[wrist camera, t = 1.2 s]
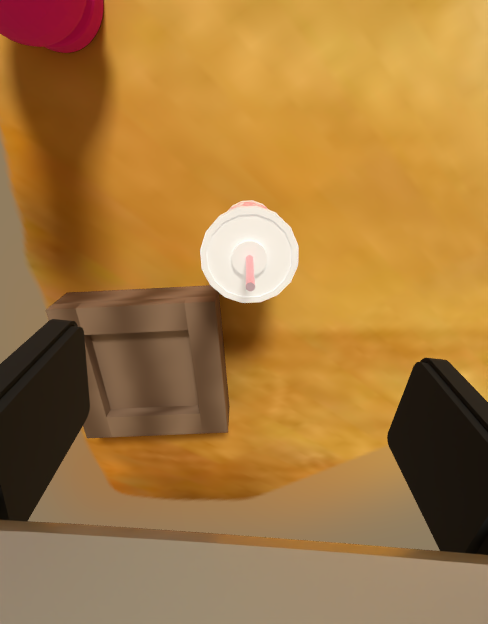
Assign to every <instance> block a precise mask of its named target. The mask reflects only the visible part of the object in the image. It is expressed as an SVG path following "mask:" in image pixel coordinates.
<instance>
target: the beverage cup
mask: <svg viewBox="0 0 488 624" xmlns="http://www.w3.org/2000/svg"><path fill="white" fill-rule="evenodd" d="M200 256H201V265H202V270H203V272H204V274H205V276H206V278H207V280H208V281H209V283H210V285H211V286H212V287H213V288H214V289H215V290H217V291H218V292H219V293H220V294H222V295H223V296H224V297H226V298H229V299H232V300H235V301H238V302H241V303H254V302H262V301H265V300H267V299H269V298H272V297H274V296H276V295H278V294H279V293H280V292H281V291H282V290H283V289H284V288H285V287H286V286H287V285H288V284H289V283H290V282H291V280H292V278H293V276H294V273H295V271H296V269H297V266H298V244H297V241H296V239H295V237H294V234H293V232H292V229H291V227H290V226H289V225H288V224H287V223H286V222H285V221H284V220H283V219H282V218H281V217H279V216H278V215H277V214H276V213H275V212H273V211H270V210H268V209H267V208H266V207H265V206H264V205H263V204H261V203H258V202H256V201H253V200H252V201H241V202H239V203H237V204H235V205H233V206H231V208H230V209H229V210H228V211H227V212H226V213H224V214H221V215H220V216H219V217H218V218H217V219H216V220H215V222H214V223H213V224H212V225H211V226H210V227H209V229H208V230H207V231H206V233H205V236H204V239H203V243H202V246H201V249H200Z"/></svg>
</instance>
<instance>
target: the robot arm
mask: <svg viewBox="0 0 488 624" xmlns="http://www.w3.org/2000/svg"><path fill="white" fill-rule="evenodd" d="M89 410H90V399H89V387H88V375H87V362H86V350H85V338H84V330H83V328H82V327H78V325H77V323H76V322H75V321H69V320H59V319H51V320H50V321H48V322H47V323H46V324H45V325H44V326H43V327H42V328H41V329H39V330H38V331H37V332H36V333H35V334H34V335H33V336H32V337H31V338H29V339H28V340H27V341H26V342H25V343H24V344H22V345H21V346H20V347H19V348H18V349H17V350H16V351H15V352H13V353H12V354H11V355H10V356H9V357H8V358H7V359H6V360H4V361H3V362H2V363H1V364H0V624H488V402H487V401H486V400H485V399H484V398H483V397H482V396H481V395H480V394H479V393H478V392H477V391H476V390H475V389H474V387H473V386H472V385H471V384H470V383H469V382H468V381H467V380H466V379H465V378H464V377H463V376H462V375H461V374H460V373H459V372H458V371H457V370H456V369H455V368H454V367H453V366H452V365H451V364H450V363H449V362H448V361H447V360H442V359H432V358H424V359H422V360H421V361H420V362H417V363H416V364H415V365H414V367H413V370H412V372H411V375H410V377H409V380H408V383H407V385H406V388H405V390H404V393H403V395H402V398H401V401H400V403H399V406H398V408H397V411H396V414H395V416H394V419H393V421H392V424H391V427H390V429H389V432H388V437H387V438H388V445H389V447H390V449H391V451H392V453H393V455H394V457H395V459H396V461H397V464H398V466H399V468H400V470H401V472H402V474H403V476H404V478H405V480H406V482H407V484H408V486H409V488H410V490H411V492H412V494H413V496H414V498H415V500H416V502H417V504H418V507H419V509H420V511H421V512H422V515H423V516H424V519H425V521H426V523H427V525H428V527H429V529H430V531H431V533H432V535H433V537H434V539H435V541H436V543H437V545H438V547H439V549H440V551H432V550H420V549H408V548H396V547H382V546H371V545H359V544H358V545H357V544H346V543H332V542H319V541H306V540H293V539H280V538H266V537H252V536H240V535H226V534H213V533H199V532H185V531H170V530H156V529H142V528H127V527H111V526H98V525H84V524H68V523H49V522H47V523H46V522H29V521H28V519H29V517H30V516H31V514H32V512H33V511H34V509H35V507H36V505H37V504H38V502H39V500H40V498H41V497H42V495H43V493H44V492H45V490H46V488H47V486H48V485H49V483H50V481H51V480H52V478H53V476H54V474H55V473H56V471H57V469H58V467H59V466H60V464H61V462H62V461H63V459H64V457H65V455H66V454H67V452H68V450H69V449H70V447H71V445H72V443H73V442H74V440H75V438H76V436H77V434H78V433H79V431H80V430H81V428H82V426H83V424H84V423H85V421H86V419H87V417H88V414H89Z"/></svg>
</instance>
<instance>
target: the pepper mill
mask: <svg viewBox="0 0 488 624" xmlns="http://www.w3.org/2000/svg"><path fill="white" fill-rule="evenodd" d="M102 17H103V0H0V34H2V35H3V36H5V37H7V38H9V39H10V40H13V41H15V42H18V43H20V44H24V45H28V46H37V47H42V46H44V47H46V48H48V49H50V50H53V51H56V52H62V53H70V52H75V51H78V50H80V49H82V48H84V47H85V46H87V45H88V44H89V43H90V42H91V41H92V39H93V38H94V37H95V36H96V34H97V32H98V30H99V28H100V24H101V21H102Z"/></svg>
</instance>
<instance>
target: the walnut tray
mask: <svg viewBox="0 0 488 624" xmlns="http://www.w3.org/2000/svg"><path fill="white" fill-rule="evenodd" d="M46 313H47V316H48V319H49V321H50V320H51V319H59V320H69V321H75V322H76V323H77V325H78V327H82V328H83V330H84V338H85V350H86V362H87V375H88V387H89V399H90V410H89V414H88V417H87V419H86V421H85V423H84V424H83V427H84V430H85V433H86V436H87V438H103V437H128V436H152V435H177V434H201V433H226V432H228V422H229V397H228V386H227V376H226V365H225V354H224V343H223V332H222V321H221V311H220V300H219V292H218V291H217V290H215V289H214V288H213V287H212V286H211V285H210V286H191V287H171V288H151V289H132V290H112V291H92V292H72V293H66V294H65V295H64V296H62V297H61V298H60V299H59V300H57V301H56V302H55V303H54V304H52V305H51V306H50V307H49V308H47V309H46Z"/></svg>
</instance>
